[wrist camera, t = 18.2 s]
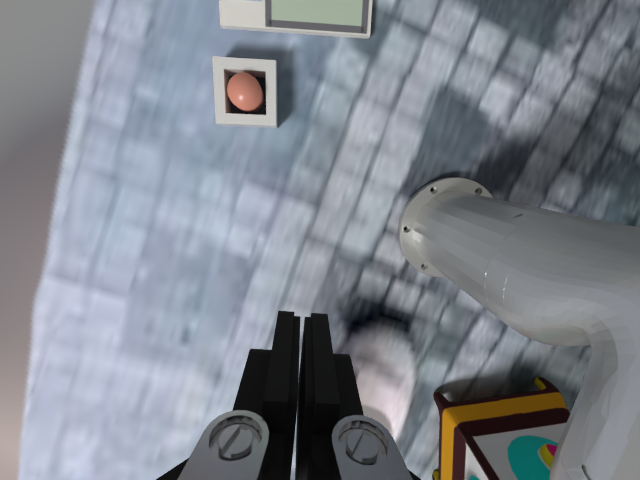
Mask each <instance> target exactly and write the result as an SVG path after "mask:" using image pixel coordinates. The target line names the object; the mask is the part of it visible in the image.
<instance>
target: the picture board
mask: <svg viewBox="0 0 640 480" xmlns="http://www.w3.org/2000/svg"><path fill="white" fill-rule="evenodd" d="M219 9H220V26H221V27H222V29H236V30H250V31H264V32H279V33H293V34H308V35H322V36H337V37H351V38H366V39H368V38H369V37H370V30H371V15H372V0H219Z"/></svg>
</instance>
